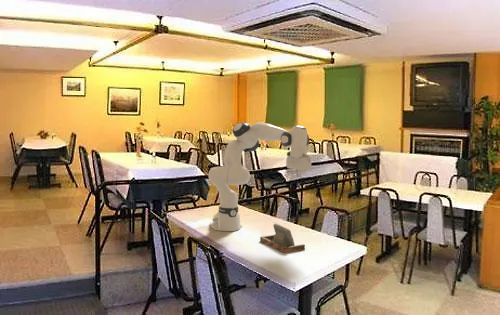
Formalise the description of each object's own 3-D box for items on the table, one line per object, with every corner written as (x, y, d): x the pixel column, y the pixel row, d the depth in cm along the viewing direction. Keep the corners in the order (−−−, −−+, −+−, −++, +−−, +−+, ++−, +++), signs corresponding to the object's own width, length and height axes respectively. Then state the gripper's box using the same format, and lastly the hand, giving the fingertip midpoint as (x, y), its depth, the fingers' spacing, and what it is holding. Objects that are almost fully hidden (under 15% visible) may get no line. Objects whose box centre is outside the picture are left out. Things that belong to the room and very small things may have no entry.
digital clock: (295, 248, 245) (296, 229, 244) (280, 249, 243) (280, 230, 241) (285, 240, 260) (286, 222, 259) (270, 240, 258) (271, 222, 257)
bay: (260, 241, 257) (260, 236, 257) (279, 238, 264) (279, 233, 264) (284, 253, 237) (284, 248, 236) (304, 249, 244) (304, 244, 243)
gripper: (314, 154, 254) (313, 179, 255) (293, 152, 272) (293, 175, 273) (305, 154, 251) (304, 179, 252) (285, 152, 269) (284, 175, 270)
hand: (298, 177), depth 263 cm, fingers closed
